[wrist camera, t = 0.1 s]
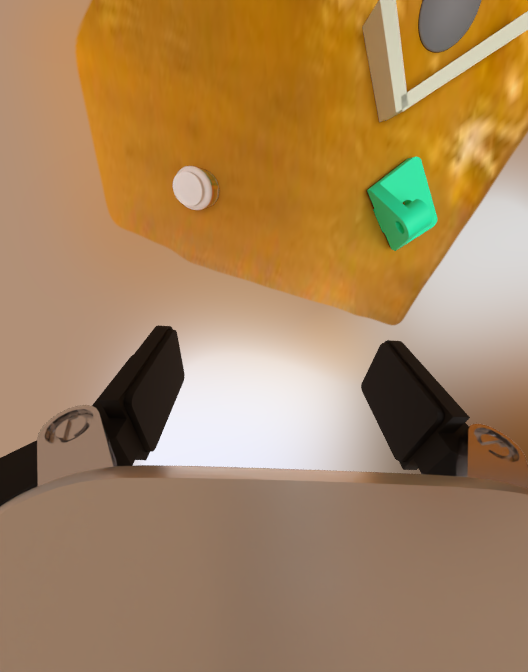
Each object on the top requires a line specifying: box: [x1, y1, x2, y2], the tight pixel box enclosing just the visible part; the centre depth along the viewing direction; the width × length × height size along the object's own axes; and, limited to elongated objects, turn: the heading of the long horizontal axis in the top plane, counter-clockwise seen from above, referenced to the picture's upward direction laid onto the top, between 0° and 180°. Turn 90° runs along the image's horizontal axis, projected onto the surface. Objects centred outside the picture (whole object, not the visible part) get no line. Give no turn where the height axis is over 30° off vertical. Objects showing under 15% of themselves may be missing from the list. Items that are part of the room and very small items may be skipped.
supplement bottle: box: [173, 166, 219, 210], centre depth 33 cm, size 5×5×10 cm
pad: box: [419, 0, 481, 52], centre depth 26 cm, size 7×7×1 cm
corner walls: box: [362, 0, 528, 122], centre depth 25 cm, size 10×17×5 cm, turn 119°
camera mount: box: [367, 157, 437, 251], centre depth 34 cm, size 12×8×10 cm, turn 38°
